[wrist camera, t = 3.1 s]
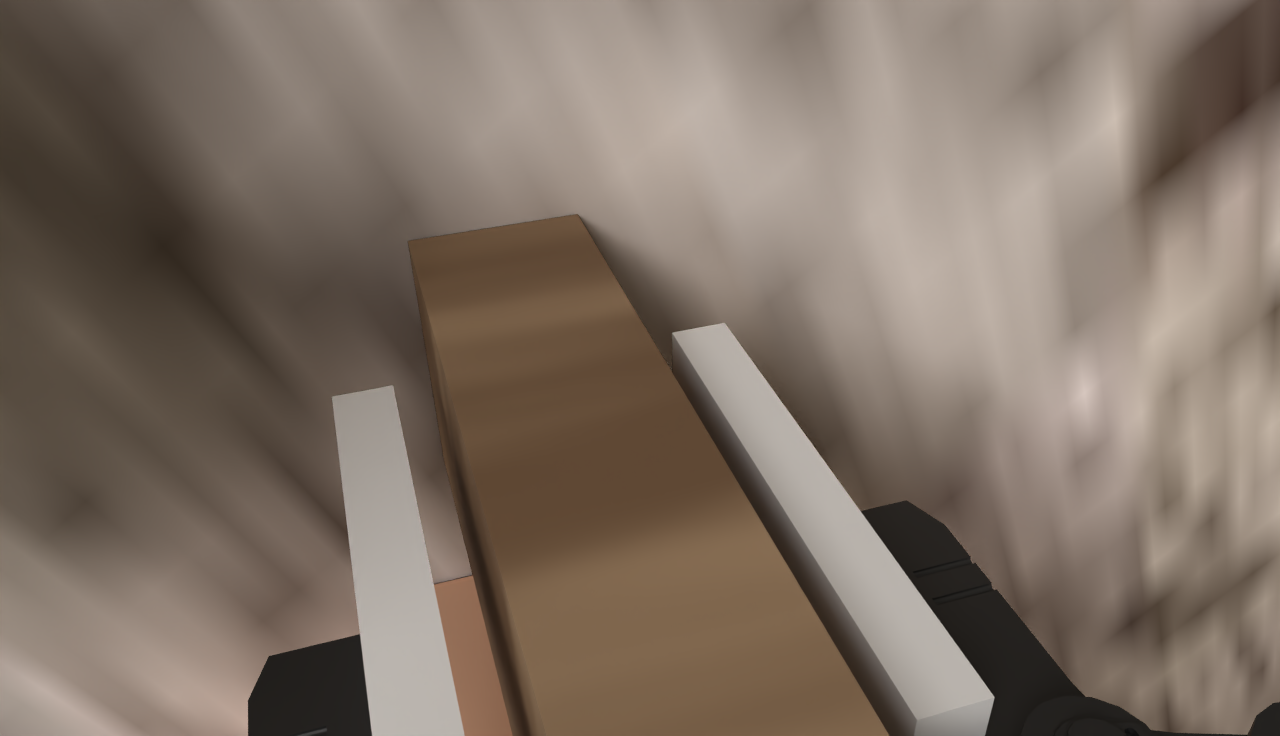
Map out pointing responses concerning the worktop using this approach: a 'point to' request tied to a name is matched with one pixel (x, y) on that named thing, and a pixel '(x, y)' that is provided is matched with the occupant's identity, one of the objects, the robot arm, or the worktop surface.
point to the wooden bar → (608, 510)
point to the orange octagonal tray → (471, 659)
